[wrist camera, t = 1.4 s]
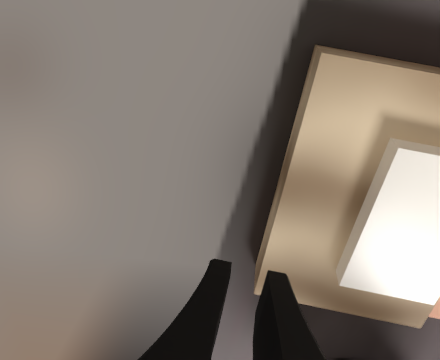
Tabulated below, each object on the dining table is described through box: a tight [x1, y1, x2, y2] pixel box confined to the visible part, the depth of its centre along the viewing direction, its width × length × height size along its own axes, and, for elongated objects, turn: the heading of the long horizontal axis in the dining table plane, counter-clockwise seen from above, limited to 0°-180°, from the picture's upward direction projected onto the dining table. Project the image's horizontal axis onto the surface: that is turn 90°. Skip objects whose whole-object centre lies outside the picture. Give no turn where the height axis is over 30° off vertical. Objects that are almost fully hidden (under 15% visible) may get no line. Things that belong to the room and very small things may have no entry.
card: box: [336, 138, 440, 305], centre depth 18 cm, size 8×5×1 cm, turn 171°
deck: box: [254, 45, 440, 329], centre depth 19 cm, size 14×10×2 cm
